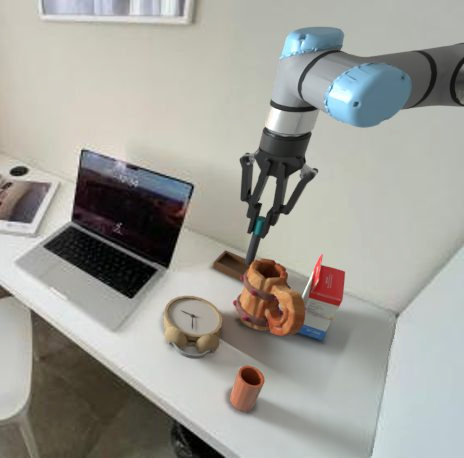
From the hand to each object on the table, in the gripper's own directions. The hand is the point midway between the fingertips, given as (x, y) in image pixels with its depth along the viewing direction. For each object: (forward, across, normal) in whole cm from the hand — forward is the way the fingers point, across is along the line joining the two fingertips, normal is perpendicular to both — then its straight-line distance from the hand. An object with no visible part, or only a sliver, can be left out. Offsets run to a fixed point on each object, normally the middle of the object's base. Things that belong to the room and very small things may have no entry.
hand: (257, 232), depth 77 cm
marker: (+9, 0, 0) cm, 9 cm away
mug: (+13, -8, +13) cm, 20 cm away
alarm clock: (+13, +2, +23) cm, 26 cm away
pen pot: (+13, -12, +30) cm, 34 cm away
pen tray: (+13, 0, 0) cm, 13 cm away
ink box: (+13, -15, +5) cm, 21 cm away
